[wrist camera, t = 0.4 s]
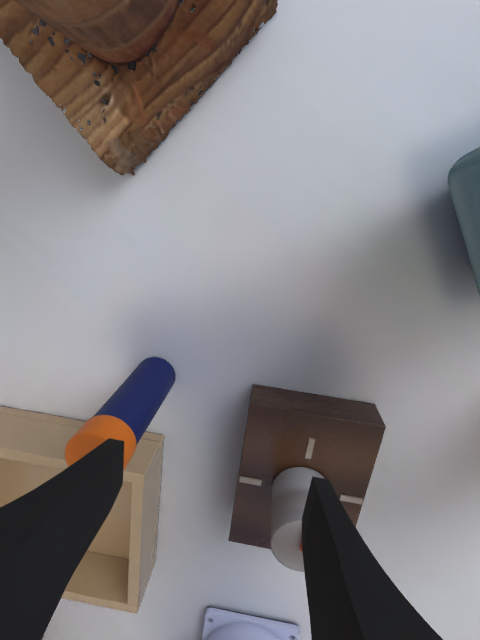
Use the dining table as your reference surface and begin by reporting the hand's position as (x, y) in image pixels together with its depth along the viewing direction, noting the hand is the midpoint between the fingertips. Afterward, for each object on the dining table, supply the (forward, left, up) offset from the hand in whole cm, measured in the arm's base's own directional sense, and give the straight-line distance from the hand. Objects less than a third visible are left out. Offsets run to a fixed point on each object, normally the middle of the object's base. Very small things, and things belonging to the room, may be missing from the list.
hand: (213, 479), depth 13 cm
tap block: (-7, -5, -10) cm, 13 cm away
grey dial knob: (-7, -5, -8) cm, 11 cm away
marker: (-2, +6, -10) cm, 12 cm away
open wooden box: (-13, +12, -10) cm, 20 cm away
